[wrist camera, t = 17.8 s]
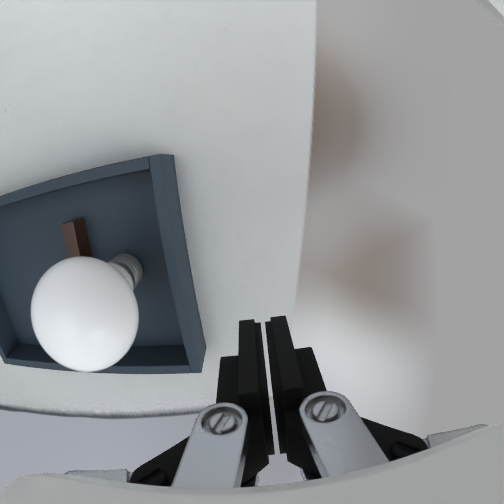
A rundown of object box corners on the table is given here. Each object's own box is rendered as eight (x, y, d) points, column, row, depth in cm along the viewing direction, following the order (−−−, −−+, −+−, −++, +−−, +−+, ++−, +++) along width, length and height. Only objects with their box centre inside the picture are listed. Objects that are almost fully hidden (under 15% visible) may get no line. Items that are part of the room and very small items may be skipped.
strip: (84, 216, 21) (72, 221, 19) (110, 321, 24) (102, 332, 22) (72, 219, 21) (60, 224, 19) (98, 322, 24) (90, 332, 22)
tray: (173, 154, 21) (160, 154, 17) (206, 347, 25) (201, 372, 22) (-22, 206, 21) (-45, 213, 17) (20, 346, 25) (4, 363, 22)
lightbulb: (127, 317, 24) (70, 407, 13) (80, 256, 22) (-6, 318, 11) (185, 278, 23) (143, 369, 12) (134, 209, 21) (49, 253, 11)
